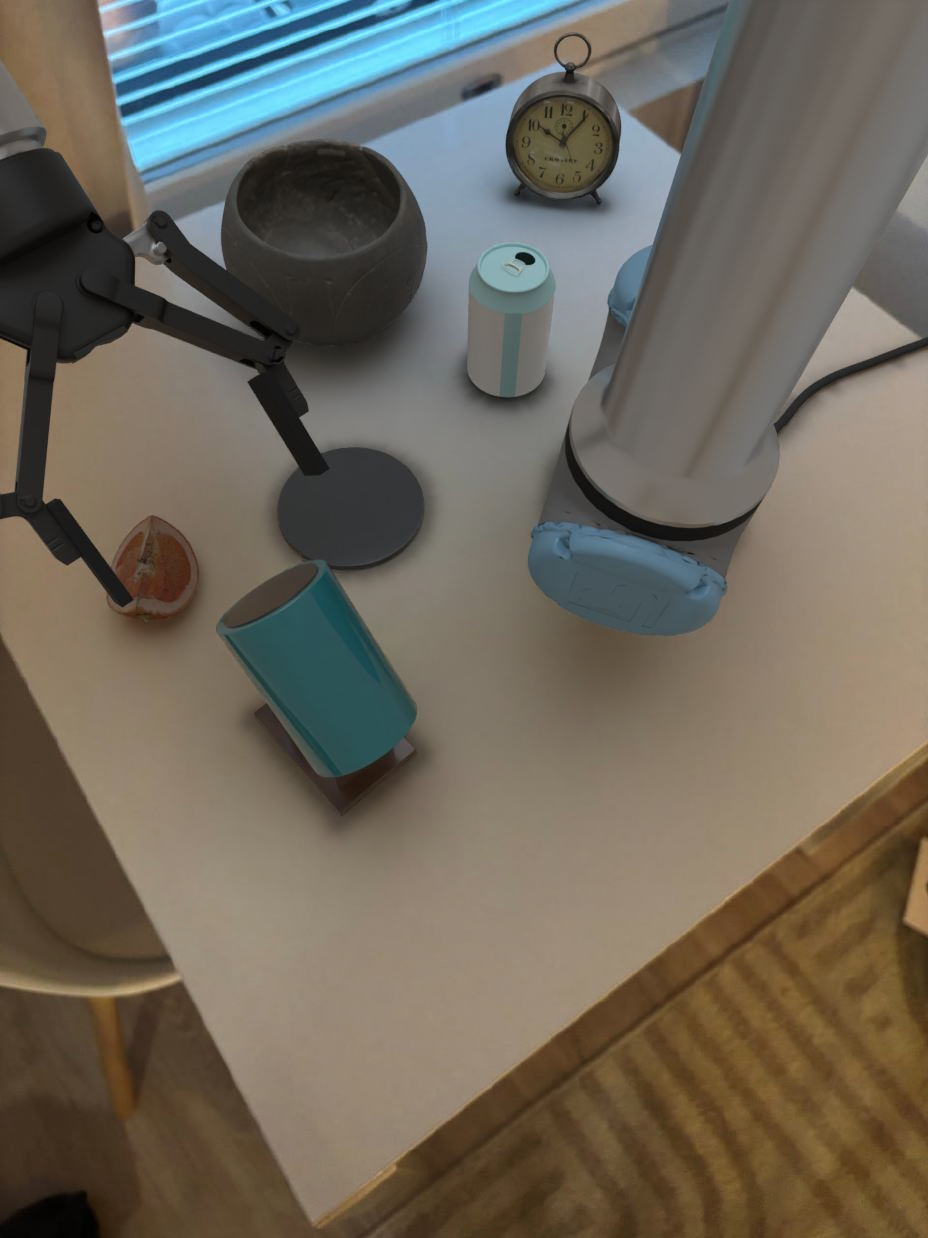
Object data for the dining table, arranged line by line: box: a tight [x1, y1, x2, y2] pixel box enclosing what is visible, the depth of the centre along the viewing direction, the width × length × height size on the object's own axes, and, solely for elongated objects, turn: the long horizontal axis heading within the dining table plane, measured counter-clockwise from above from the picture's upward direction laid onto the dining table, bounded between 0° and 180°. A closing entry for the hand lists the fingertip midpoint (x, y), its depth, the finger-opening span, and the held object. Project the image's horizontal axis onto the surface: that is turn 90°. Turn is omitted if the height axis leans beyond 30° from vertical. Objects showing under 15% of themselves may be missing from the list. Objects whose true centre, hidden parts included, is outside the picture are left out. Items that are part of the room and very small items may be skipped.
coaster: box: [276, 446, 425, 571], centre depth 78 cm, size 12×12×1 cm
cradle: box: [253, 702, 417, 817], centre depth 64 cm, size 10×7×11 cm
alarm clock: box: [504, 31, 622, 206], centre depth 90 cm, size 11×5×16 cm, turn 80°
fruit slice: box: [106, 514, 200, 623], centre depth 72 cm, size 8×7×5 cm
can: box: [466, 241, 557, 398], centre depth 80 cm, size 7×7×12 cm
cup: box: [215, 559, 418, 777], centre depth 58 cm, size 13×8×13 cm, turn 42°
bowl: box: [220, 138, 428, 347], centre depth 83 cm, size 18×18×13 cm
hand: (224, 534), depth 55 cm, fingers open, 13 cm apart
